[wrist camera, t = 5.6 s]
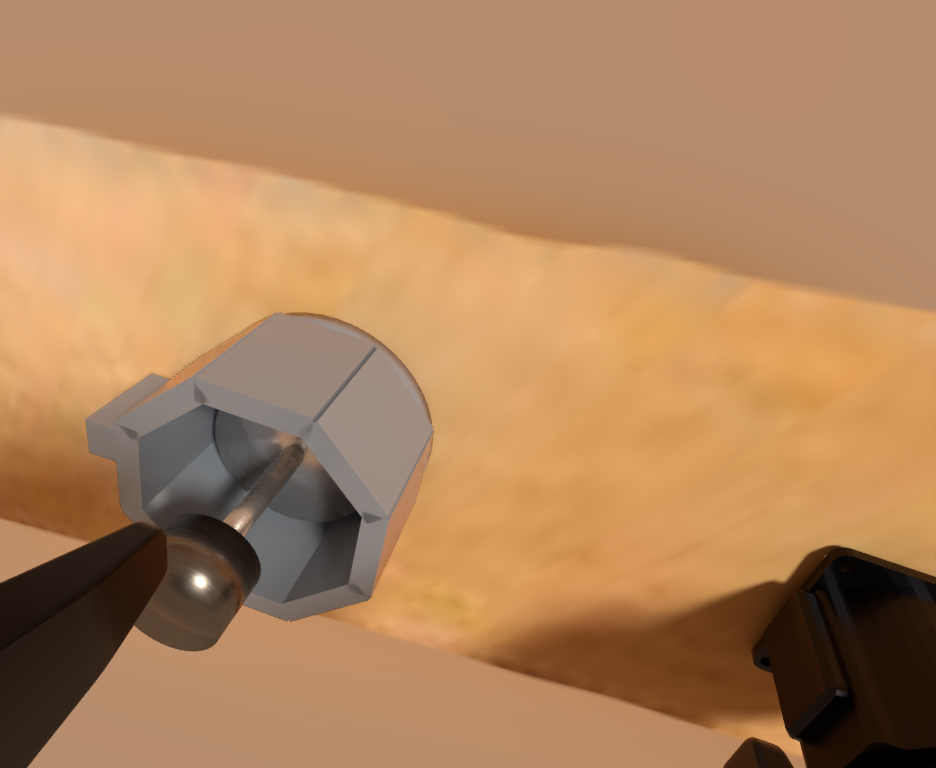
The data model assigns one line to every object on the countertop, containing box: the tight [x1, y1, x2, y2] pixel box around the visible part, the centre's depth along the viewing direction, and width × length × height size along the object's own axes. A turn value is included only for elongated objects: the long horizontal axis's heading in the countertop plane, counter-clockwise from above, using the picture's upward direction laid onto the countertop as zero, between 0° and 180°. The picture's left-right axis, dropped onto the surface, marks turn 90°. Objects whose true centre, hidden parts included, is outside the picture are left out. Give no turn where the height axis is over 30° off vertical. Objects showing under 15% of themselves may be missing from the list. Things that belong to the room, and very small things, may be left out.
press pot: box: [86, 312, 434, 621], centre depth 21 cm, size 10×9×6 cm
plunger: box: [134, 410, 356, 651], centre depth 19 cm, size 6×6×8 cm
